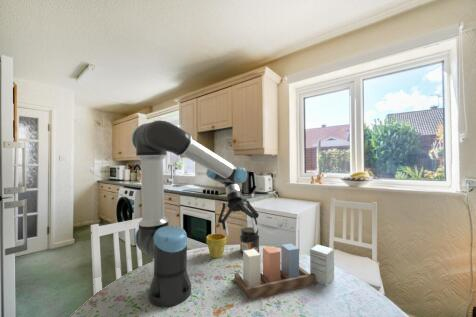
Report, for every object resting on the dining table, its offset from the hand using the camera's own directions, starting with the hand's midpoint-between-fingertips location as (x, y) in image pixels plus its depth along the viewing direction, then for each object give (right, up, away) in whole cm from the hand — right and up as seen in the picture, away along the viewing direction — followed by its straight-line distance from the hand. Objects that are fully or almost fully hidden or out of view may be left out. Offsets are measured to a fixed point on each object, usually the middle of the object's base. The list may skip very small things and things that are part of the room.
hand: (241, 233), depth 101 cm
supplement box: (+33, -16, -10) cm, 38 cm away
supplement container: (+4, -16, +16) cm, 23 cm away
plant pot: (-13, -16, +12) cm, 24 cm away
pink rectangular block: (+12, -15, -11) cm, 22 cm away
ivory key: (+4, -15, -14) cm, 21 cm away
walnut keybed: (+13, -15, -13) cm, 23 cm away
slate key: (+21, -15, -8) cm, 27 cm away
